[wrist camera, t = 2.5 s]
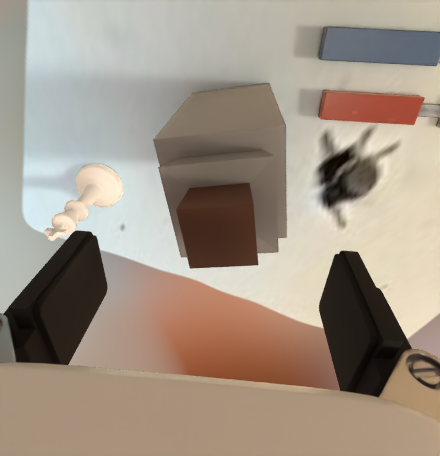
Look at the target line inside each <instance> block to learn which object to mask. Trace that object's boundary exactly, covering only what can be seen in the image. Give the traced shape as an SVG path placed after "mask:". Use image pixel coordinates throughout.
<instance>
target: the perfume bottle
mask: <svg viewBox="0 0 440 456" xmlns="http://www.w3.org/2000/svg"><path fill="white" fill-rule="evenodd" d="M153 140H154V144H155V148H156V152H157V156H158V160H159V164H160V167H158V168H159V172H160V176H161V180H162V184H163V188H164V192H165V196H166V200H167V204H168V208H169V212H170V216H171V220H172V224H173V228H174V232H175V236H176V239H177V243H178V247H179V251H180V255H181V257H187V258H188V262H189V266H190V268H209V267H230V266H250V265H258V255H257V253H274V252H278V238H287V215H286V125H285V122H284V120H283V117H282V115H281V112H280V110H279V107H278V104H277V102H276V99H275V97H274V94H273V92H272V89H271V87H270V84H269V83H267V84H259V85H251V86H243V87H235V88H228V89H220V90H212V91H204V92H196V93H192V94H191V95H190V97H189V98H188V99H187V100H186V101H185V103H184V104H183V105H182V106H181V107H180V108H179V110H178V111H177V112H176V113H175V114H174V116H173V117H172V118H171V119H170V120H169V122H168V123H167V124H166V125H165V126H164V127H163V129H162V130H161V131H160V132H159V133H158V135H157V136H156V137H155V138H154V139H153Z"/></svg>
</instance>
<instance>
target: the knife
mask: <svg viewBox="0 0 440 456" xmlns="http://www.w3.org/2000/svg"><path fill="white" fill-rule="evenodd" d="M319 59H320V60H331V61H350V62H369V63H388V64H407V65H426V66H437V64H438V63H440V32H426V31H406V30H385V29H365V28H344V27H325V28H324V33H323V38H322V43H321V48H320V53H319Z"/></svg>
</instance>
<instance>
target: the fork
mask: <svg viewBox="0 0 440 456" xmlns="http://www.w3.org/2000/svg"><path fill="white" fill-rule="evenodd" d="M423 101H424V97H421V96H418V95H400V94H382V93H365V92H347V91H330V90H324V93H323V98H322V103H321V107H320V112H319V118H320V119H325V120H342V121H358V122H374V123H391V124H407V125H414V124H415V121H416V119H417V116H422V117H438V118H439V120H438V123H437V125H436V126H437V127H440V104H423Z"/></svg>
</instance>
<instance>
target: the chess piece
mask: <svg viewBox="0 0 440 456" xmlns="http://www.w3.org/2000/svg"><path fill="white" fill-rule="evenodd" d="M76 186H77V189H78V191H79V193H80V195H81V197H80V198H79V200H78V201H76V200H71V201H68V202H67V203H66V205H65V212H63V213H59V214H57V215H55V216H54V217H53V218H52V225H53V227H54V229H53V228H47V229H46V230H45V231H44V232H45V235H48V239H49V240H52V241H54V240H55V239H56V238H57V237H58V236H62V237H66V236H67V234H71V233H73V232H74V231H75V229H76V225H77V221H82V220H84V219H86V218H87V216H88V210H87V208H88V207H89V206H90V205H92V204H93V205H95V206H99V207H108V206H112V205H113V204H115V203H116V202H118V201H119V200H120V198H121V197H122V194H123V184H122V181H121V179H120V178H119V176H118V175H117V174H116V173H115V172H114V171H113V170H112V169H111V168H109V167H107V166H105V165H102V164H98V163H92V164H88V165H86V166H84V167H83V168H82V169H81V170H80V171H79V173H78V174H77V177H76Z"/></svg>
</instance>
